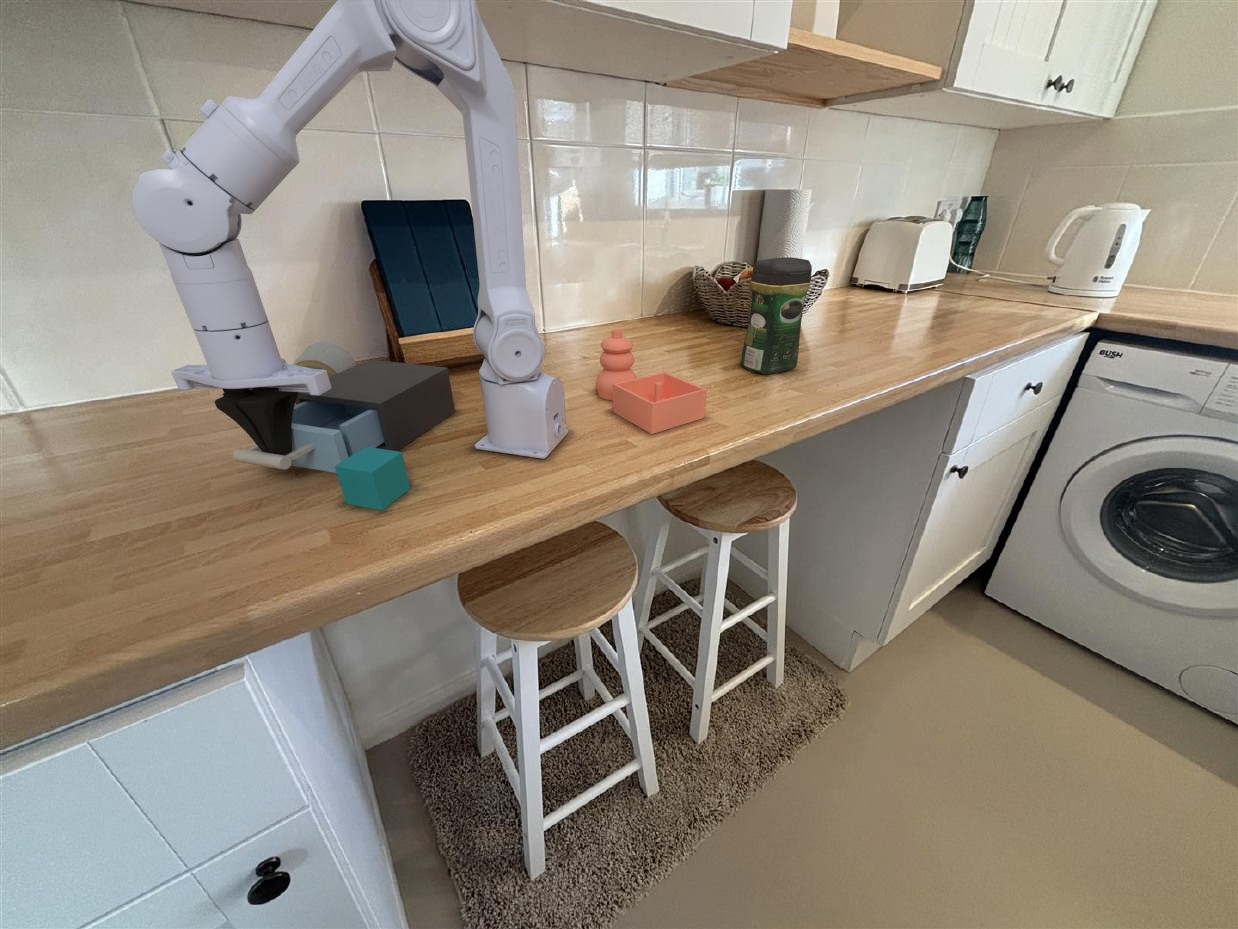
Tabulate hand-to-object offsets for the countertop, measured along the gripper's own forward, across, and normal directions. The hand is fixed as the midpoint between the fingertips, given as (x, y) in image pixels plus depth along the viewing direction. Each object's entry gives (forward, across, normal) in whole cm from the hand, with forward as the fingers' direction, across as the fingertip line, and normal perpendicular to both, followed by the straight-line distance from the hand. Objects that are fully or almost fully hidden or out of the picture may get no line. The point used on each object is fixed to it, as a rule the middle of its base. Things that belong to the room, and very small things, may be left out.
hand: (280, 454), depth 52 cm
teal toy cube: (+3, -11, +2) cm, 12 cm away
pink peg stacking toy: (+4, -37, -26) cm, 45 cm away
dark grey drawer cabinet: (+3, -3, -15) cm, 16 cm away
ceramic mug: (+4, +10, -25) cm, 27 cm away
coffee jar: (+4, -59, -46) cm, 75 cm away
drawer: (+3, -1, -6) cm, 6 cm away
